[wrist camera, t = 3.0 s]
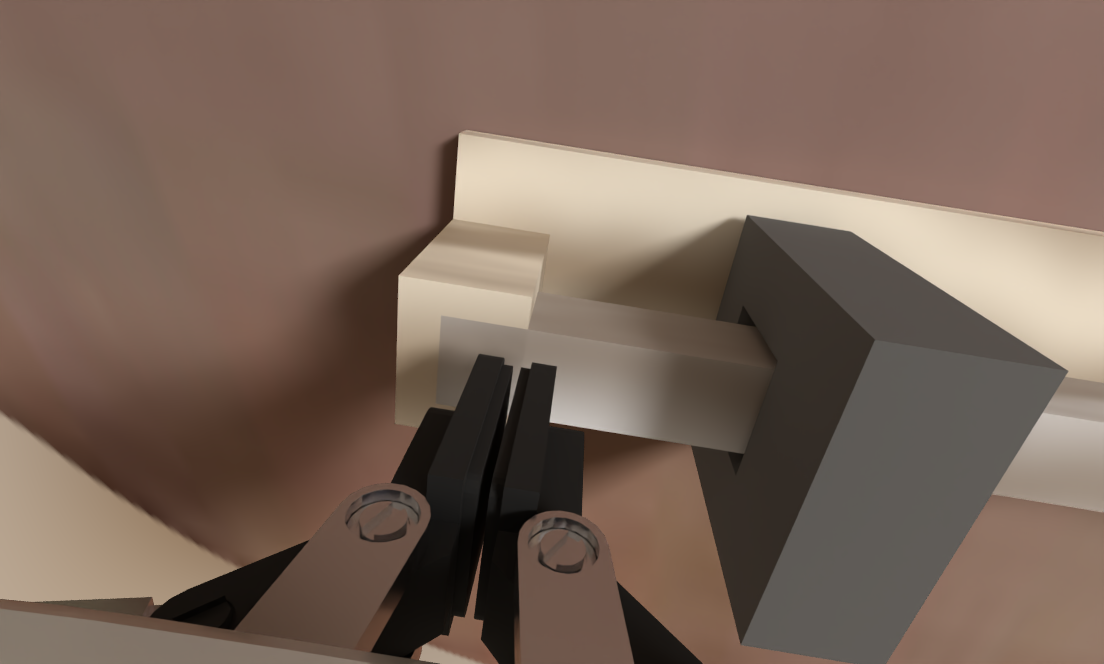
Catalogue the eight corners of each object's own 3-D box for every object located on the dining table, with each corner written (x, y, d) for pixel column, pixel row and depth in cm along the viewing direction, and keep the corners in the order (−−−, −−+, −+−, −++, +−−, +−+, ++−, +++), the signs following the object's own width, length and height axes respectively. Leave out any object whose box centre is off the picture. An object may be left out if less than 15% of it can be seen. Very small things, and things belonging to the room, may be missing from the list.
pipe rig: (466, 129, 17) (399, 161, 11) (1587, 309, 17) (2102, 434, 11) (447, 383, 21) (391, 503, 15) (1358, 531, 21) (1651, 709, 15)
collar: (747, 214, 16) (875, 339, 9) (850, 231, 16) (1068, 371, 9) (685, 422, 19) (740, 645, 12) (772, 435, 19) (883, 668, 12)
